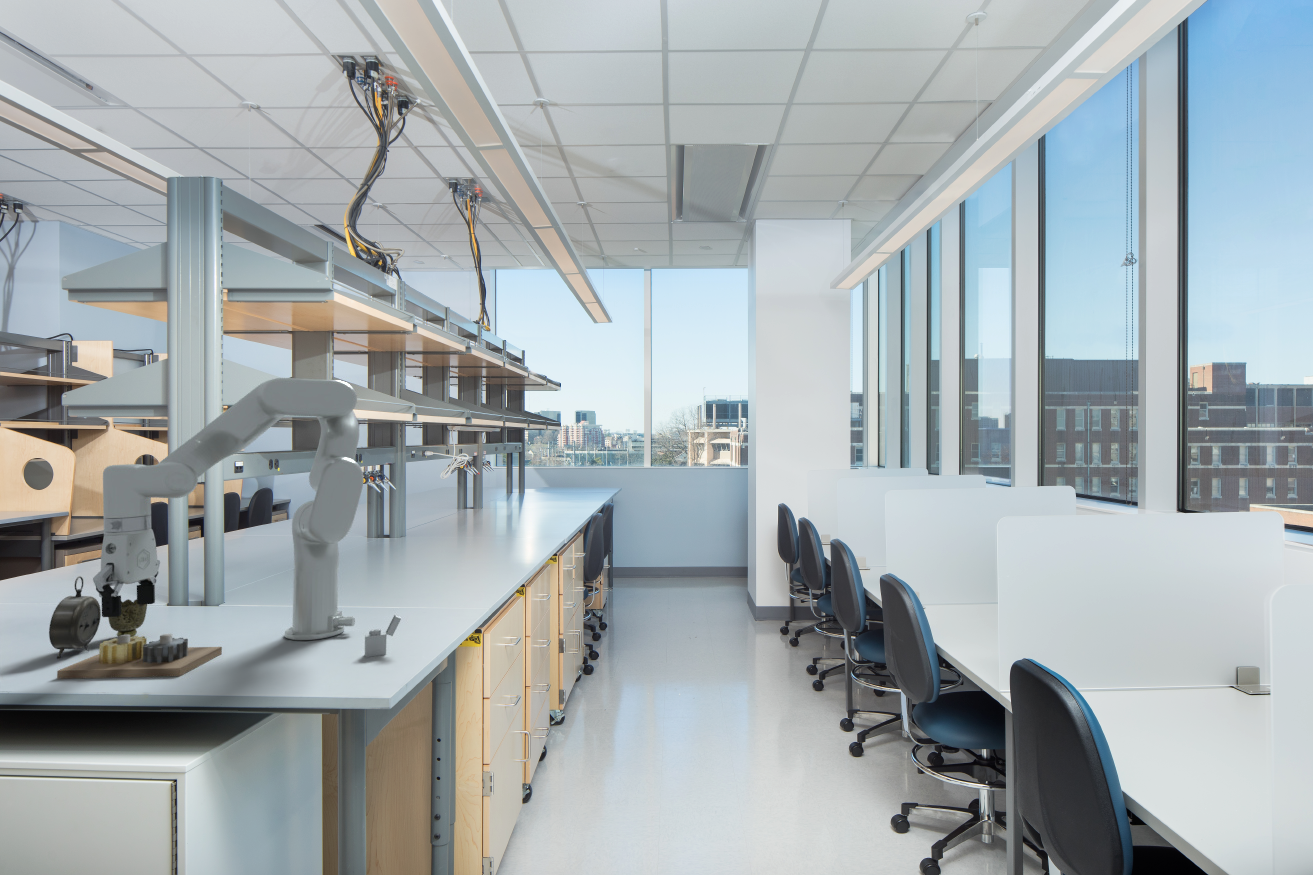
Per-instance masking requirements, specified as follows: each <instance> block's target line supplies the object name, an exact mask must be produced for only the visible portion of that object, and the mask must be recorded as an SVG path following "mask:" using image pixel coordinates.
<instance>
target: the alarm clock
mask: <svg viewBox="0 0 1313 875" xmlns="http://www.w3.org/2000/svg"><path fill="white" fill-rule="evenodd" d="M79 579H81V586H80V588H77V583H78V580H79ZM83 589H84V578H83V577H82V576H81V575H78V576H77V577H76V579H75V581H74V591H75V595H68V596H66V597H65V598H63V599H61V600H60V601H59V603H58V604H57V606H56V607H55V608H54V611H53V614H52V616H51V619H50V623H49V627H48V628H49V629H48V631H49V632H48V636H49V642H50V644H51V646H52V647H53V648H54V649H56V650H59V652H58V655H57V656H56V659H61V658H62V655H63V653H64V652H65V650H80V649H83V648H84V649H85V650H86V651H87V652H88V653H89V652H90V649H89V647H88V644H90V642H92V640H93V639H94V637H95V636H96V634H97V633H98V630H99V627H100V622H101V617H102V609H101V606H100V603H99V600H97V599H96V597H93V596H90V595H87V596H86V595H82V591H83Z"/></svg>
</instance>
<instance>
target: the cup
mask: <svg viewBox="0 0 1313 875" xmlns="http://www.w3.org/2000/svg"><path fill="white" fill-rule="evenodd" d="M147 608H148V604H140V605H139V604H137V598H136V599H134V600H133V601H132V600H131V599H126V600H124V601H122V600H121V615H120V616H118V617H107V618H108V623H109V626H110V628H111V629H112V630H113V631H116V632H117V633H116V636H117V637H118V636H120V635H130V637H133V636H137V633H138V630H137V629H139V628H140V627H141V626H142V625H143V624H144V622H145V620H146V614H147Z"/></svg>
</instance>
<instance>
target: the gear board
mask: <svg viewBox="0 0 1313 875" xmlns="http://www.w3.org/2000/svg"><path fill="white" fill-rule="evenodd" d="M116 639H117V644H120V643H127V642H130V635H120V636H117V638H116ZM222 651H223V647H222V646H197V647H196V646H195V647H194V646H193V647H190V646H189V639H188V638H184V637H178V638H175V637H173V634H172V633H163V634H161V635H159V639H158V640H155V641H153V640H152V641H149V642H148V643H146V644H144V645H143V658H142V659H136V661H132V662H131V661H128V662H124V663H120V664H119V663H113V664H108V663H104V664H101V662H99V653H97V654H95V655H92V656H90V657H88V658H85V659H83V660H81V661H78V662H76V663H73V664H71V665H67V666H65V667H63V668H61V669H59V670H58V669H57V671H56V673H57V674H56V679H59V680H64V679H100V678H101V679H103V678H104V679H106V678H107V679H108V678H144V677H145V678H147V677H148V678H149V677H150V678H154V677H158V678H159V677H182V676H183V675H185V674H188V672H190V671H192V670H195V669H196V668H198V667H200V666H201V665H203V664H206V663H208V662H209V661H211V660H213V659H215V658H216V657H219V656H220V655H222V653H223V652H222Z"/></svg>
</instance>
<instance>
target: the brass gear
mask: <svg viewBox="0 0 1313 875" xmlns="http://www.w3.org/2000/svg"><path fill="white" fill-rule="evenodd" d="M144 644H147V637H146V636H143V635H142V636H138V635H135V636H133V637H130V642H127V643H120V644H117V638H116V637H115V638H111V639H110V640H104V641H102V642H100V643H99V653H98V654H99V662H101V664H104V663H108V664H113V663H119V664H120V663H124V662H128V661H131V662H132V661H136V659H142V658H143V645H144Z"/></svg>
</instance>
